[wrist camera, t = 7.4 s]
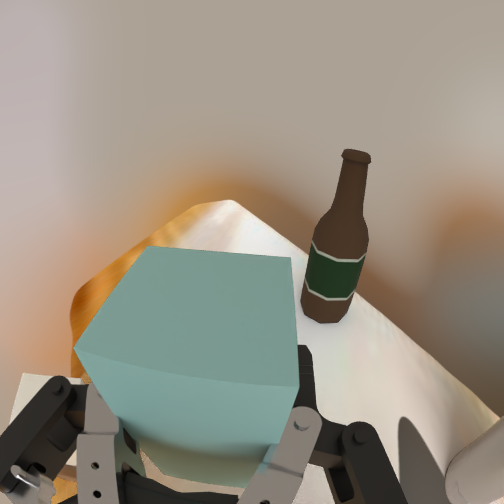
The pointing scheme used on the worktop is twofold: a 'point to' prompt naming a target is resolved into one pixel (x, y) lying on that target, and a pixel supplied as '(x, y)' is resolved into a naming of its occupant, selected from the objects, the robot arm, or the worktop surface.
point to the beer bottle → (338, 245)
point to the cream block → (28, 390)
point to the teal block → (198, 359)
